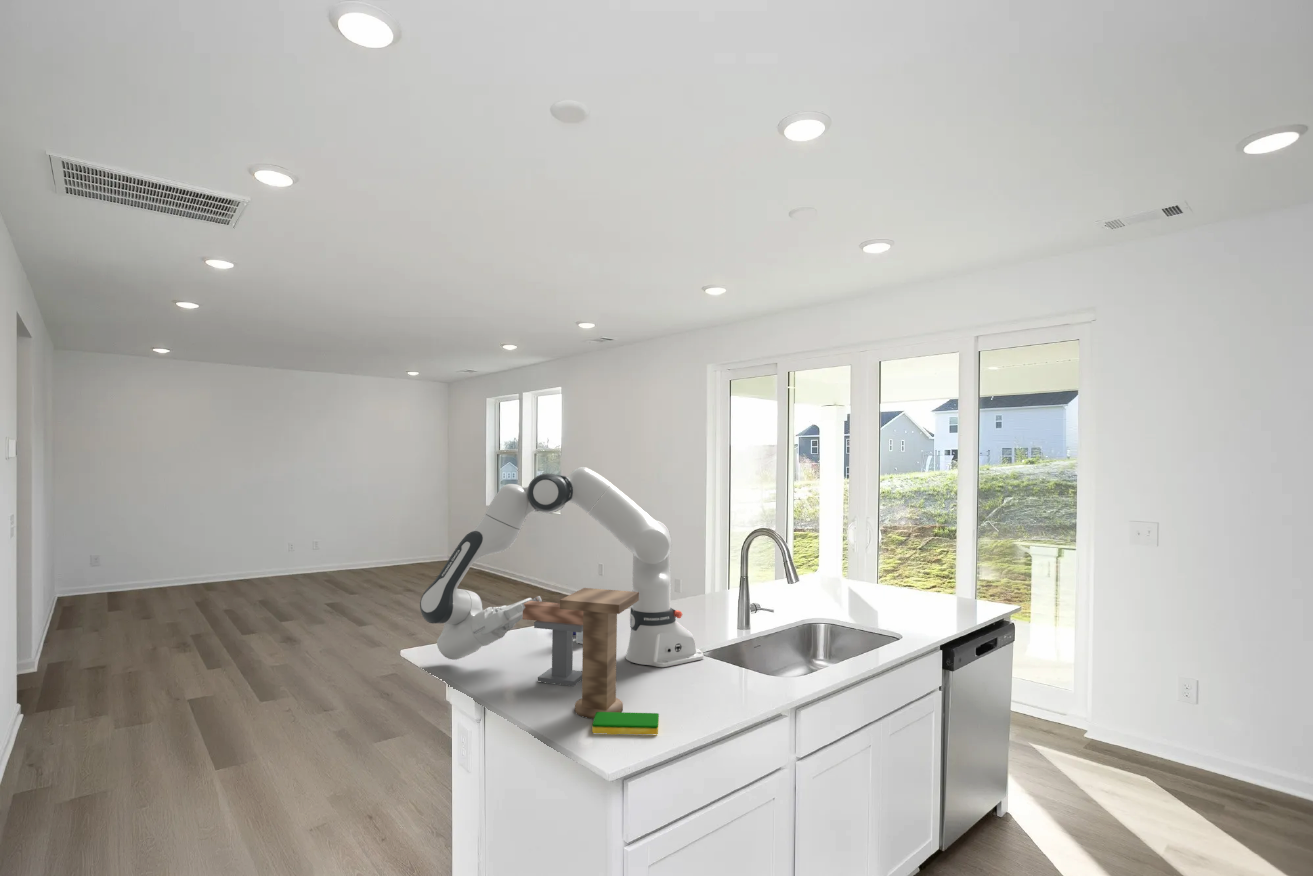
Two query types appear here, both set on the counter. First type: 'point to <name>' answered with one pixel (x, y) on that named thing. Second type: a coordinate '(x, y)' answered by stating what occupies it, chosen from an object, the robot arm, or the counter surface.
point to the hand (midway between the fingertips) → (531, 602)
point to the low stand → (561, 653)
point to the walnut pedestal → (599, 646)
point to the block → (551, 613)
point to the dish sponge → (625, 723)
